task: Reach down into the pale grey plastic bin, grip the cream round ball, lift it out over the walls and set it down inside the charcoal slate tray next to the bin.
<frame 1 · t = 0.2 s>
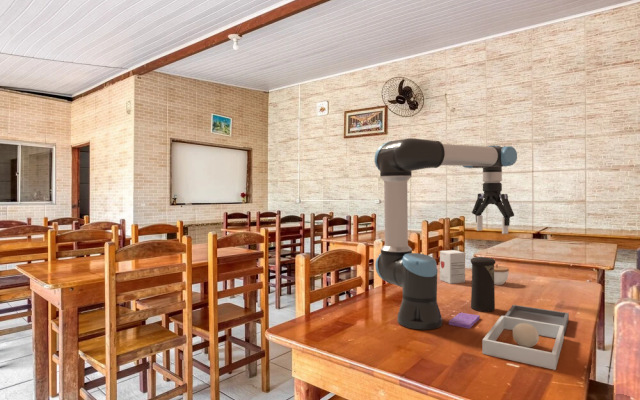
hand: (491, 232, 172), 28 cm above the table, fingers open, 13 cm apart
supplement box: (452, 281, 201), on the table
slate tray: (536, 322, 140), on the table
lidded jar: (496, 283, 196), on the table
cream round ball: (524, 346, 119), resting in grey bin
container: (482, 309, 156), on the table
sponges: (464, 323, 141), on the table
grey bin: (524, 345, 119), on the table
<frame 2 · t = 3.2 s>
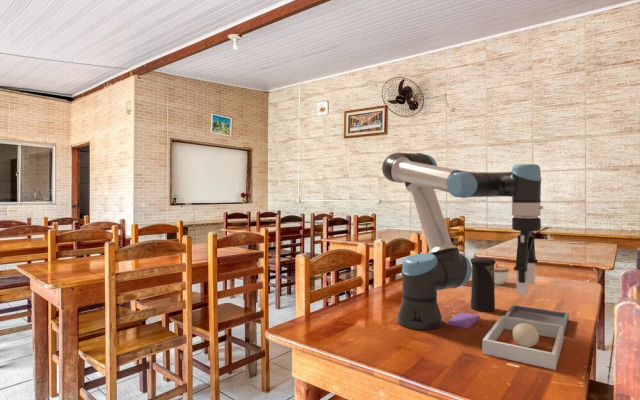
hand: (526, 288, 119), 17 cm above the table, fingers open, 13 cm apart
nothing on the table moved.
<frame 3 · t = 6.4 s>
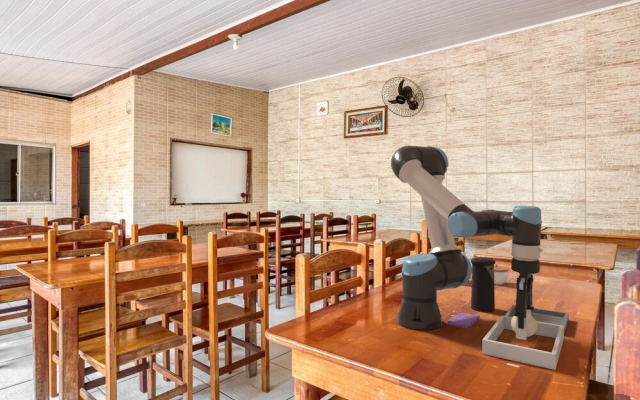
hand: (523, 334, 120), 3 cm above the table, fingers closed on cream round ball, 7 cm apart
cream round ball: (523, 335, 120), point 3 cm above the table, touching gripper
everything else where it was.
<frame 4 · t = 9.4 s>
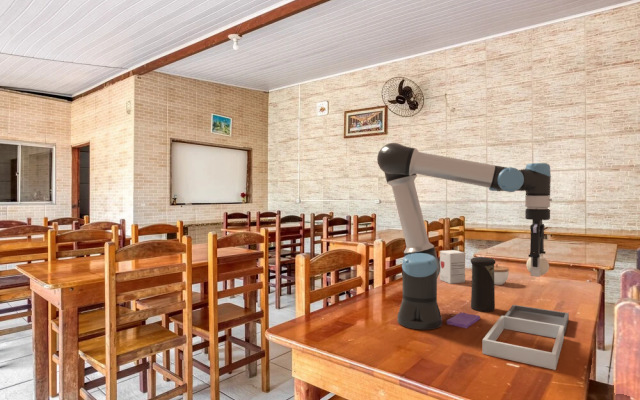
hand: (536, 274, 139), 17 cm above the table, fingers closed on cream round ball, 7 cm apart
cream round ball: (537, 275, 139), point 16 cm above the table, touching gripper
everything else where it was.
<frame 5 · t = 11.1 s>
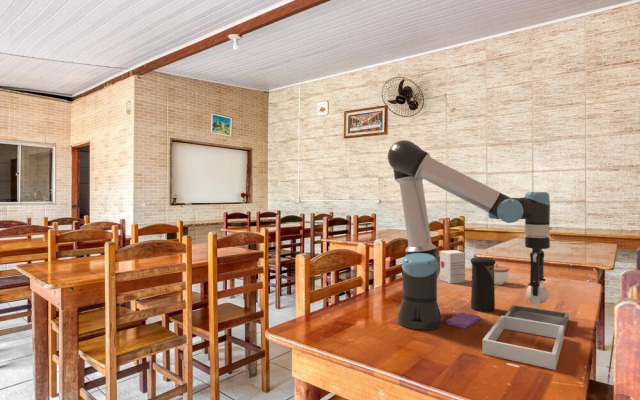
hand: (537, 302, 139), 7 cm above the table, fingers closed on cream round ball, 7 cm apart
cream round ball: (537, 303, 140), point 7 cm above the table, touching gripper
everything else where it was.
when the fingers open (3 cm above the table, at t = 12.4 s): cream round ball drops 1 cm, resting on slate tray.
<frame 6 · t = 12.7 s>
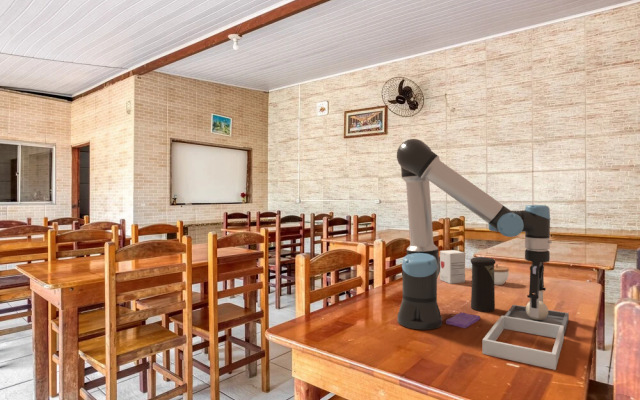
hand: (536, 312, 140), 3 cm above the table, fingers open, 10 cm apart
cream round ball: (536, 319, 140), point 1 cm above the table, touching slate tray
everything else where it was.
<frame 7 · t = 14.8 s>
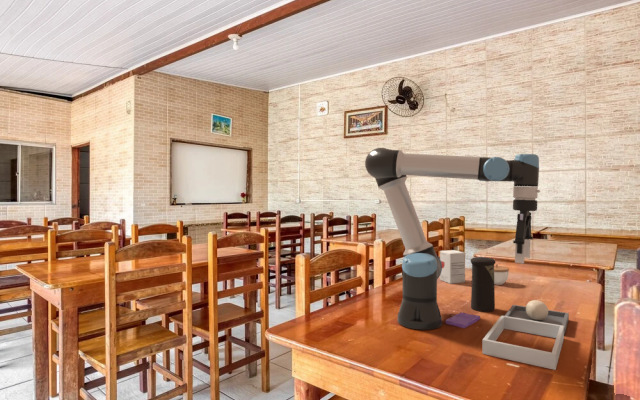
hand: (522, 260, 140), 22 cm above the table, fingers open, 13 cm apart
nothing on the table moved.
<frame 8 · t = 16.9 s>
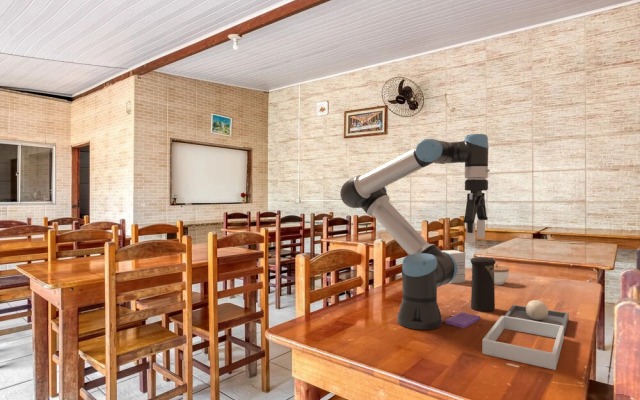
hand: (475, 240, 140), 29 cm above the table, fingers open, 13 cm apart
nothing on the table moved.
at the end: cream round ball inside the target area on the slate tray (0.1 cm from its centre), point 0.8 cm above the slate tray's base; the gripper is holding nothing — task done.
